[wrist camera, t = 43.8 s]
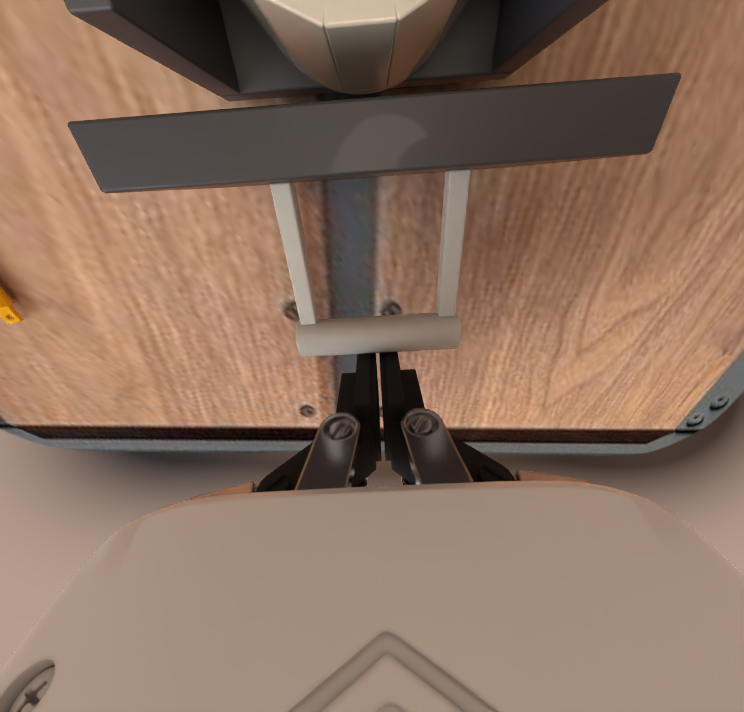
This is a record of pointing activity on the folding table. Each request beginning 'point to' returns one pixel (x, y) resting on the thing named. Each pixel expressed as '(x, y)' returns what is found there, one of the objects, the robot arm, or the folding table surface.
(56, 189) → the folding table surface
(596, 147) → the dark grey drawer
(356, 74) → the ramekin
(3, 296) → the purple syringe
